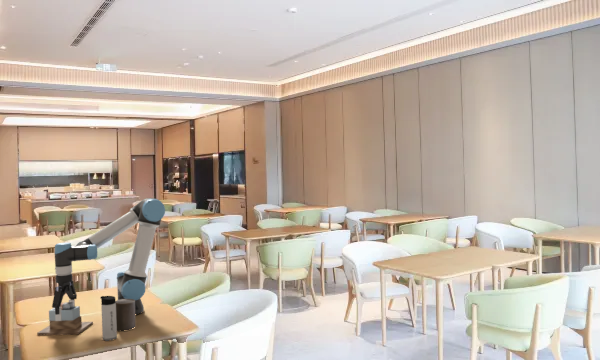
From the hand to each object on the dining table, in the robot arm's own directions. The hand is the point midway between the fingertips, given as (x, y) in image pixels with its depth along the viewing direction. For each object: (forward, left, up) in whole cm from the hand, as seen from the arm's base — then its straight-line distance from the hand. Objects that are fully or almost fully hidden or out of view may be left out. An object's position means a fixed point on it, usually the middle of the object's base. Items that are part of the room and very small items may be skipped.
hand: (65, 316), depth 245 cm
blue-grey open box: (0, 0, -1) cm, 1 cm away
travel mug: (-28, +15, -7) cm, 32 cm away
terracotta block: (+2, 0, +3) cm, 4 cm away
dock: (0, 0, -6) cm, 6 cm away
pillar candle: (-30, 0, -7) cm, 31 cm away
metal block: (-1, 0, +3) cm, 3 cm away
